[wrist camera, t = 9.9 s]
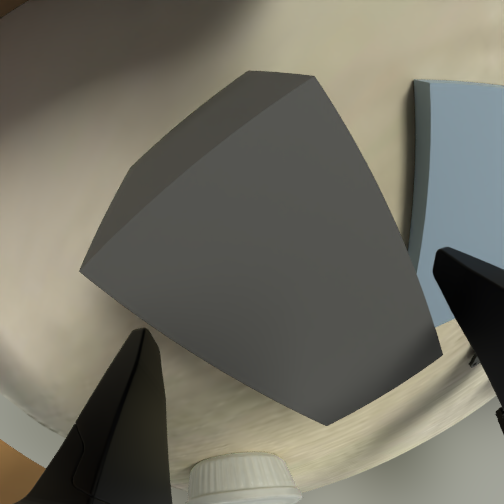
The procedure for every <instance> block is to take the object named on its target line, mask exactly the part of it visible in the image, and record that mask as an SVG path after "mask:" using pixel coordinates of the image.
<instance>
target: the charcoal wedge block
mask: <svg viewBox="0 0 504 504" xmlns="http://www.w3.org/2000/svg"><path fill="white" fill-rule="evenodd" d="M79 272H80V273H82V274H83V275H84V276H85V277H87V278H88V279H89V280H90V281H92V282H93V283H94V284H95V285H97V286H98V287H99V288H101V289H102V290H103V291H104V292H106V293H107V294H108V295H110V296H111V297H112V298H114V299H115V300H116V301H118V302H119V303H120V304H122V305H123V306H124V307H126V308H127V309H128V310H130V311H131V312H133V313H134V314H135V315H137V316H138V317H140V318H141V319H142V320H144V321H145V322H147V323H148V324H149V325H151V326H152V327H154V328H155V329H157V330H158V331H160V332H161V333H163V334H164V335H166V336H167V337H169V338H170V339H172V340H173V341H175V342H176V343H178V344H179V345H181V346H182V347H184V348H185V349H187V350H188V351H190V352H192V353H193V354H195V355H196V356H198V357H200V358H201V359H203V360H204V361H206V362H208V363H209V364H211V365H213V366H214V367H216V368H218V369H219V370H221V371H223V372H224V373H226V374H228V375H229V376H231V377H233V378H235V379H236V380H238V381H240V382H242V383H243V384H245V385H247V386H249V387H250V388H252V389H254V390H256V391H258V392H260V393H261V394H263V395H265V396H267V397H269V398H271V399H273V400H275V401H276V402H278V403H280V404H282V405H284V406H286V407H288V408H290V409H292V410H294V411H296V412H298V413H300V414H302V415H304V416H306V417H308V418H310V419H312V420H315V421H317V422H319V423H321V424H323V425H325V426H328V425H330V424H332V423H334V422H336V421H338V420H340V419H342V418H343V417H345V416H347V415H349V414H351V413H353V412H355V411H356V410H358V409H360V408H362V407H364V406H365V405H367V404H369V403H371V402H372V401H374V400H376V399H378V398H379V397H381V396H383V395H384V394H386V393H387V392H389V391H391V390H392V389H394V388H396V387H397V386H399V385H400V384H402V383H403V382H405V381H406V380H408V379H409V378H411V377H412V376H414V375H415V374H417V373H418V372H420V371H421V370H423V369H424V368H426V367H427V366H428V365H430V364H431V363H433V362H434V361H435V360H437V359H438V358H440V357H441V356H442V355H443V353H442V350H441V346H440V343H439V339H438V336H437V333H436V329H435V326H434V323H433V320H432V317H431V314H430V311H429V308H428V305H427V302H426V299H425V296H424V293H423V290H422V287H421V285H420V282H419V279H418V277H417V274H416V271H415V269H414V266H413V264H412V261H411V258H410V256H409V253H408V251H407V249H406V246H405V244H404V241H403V239H402V237H401V234H400V232H399V230H398V227H397V225H396V223H395V221H394V218H393V216H392V214H391V212H390V210H389V207H388V205H387V203H386V201H385V199H384V197H383V195H382V193H381V191H380V189H379V187H378V185H377V183H376V181H375V179H374V177H373V175H372V173H371V171H370V169H369V167H368V165H367V163H366V161H365V159H364V158H363V156H362V154H361V152H360V150H359V148H358V147H357V145H356V143H355V141H354V139H353V138H352V136H351V134H350V132H349V131H348V129H347V127H346V125H345V124H344V122H343V120H342V119H341V117H340V115H339V114H338V112H337V110H336V109H335V107H334V106H333V104H332V102H331V101H330V99H329V98H328V96H327V94H326V93H325V91H324V90H323V88H322V87H321V85H320V84H319V82H318V81H317V79H316V78H315V76H310V75H301V74H291V73H279V72H265V71H247V72H246V73H244V74H243V75H242V76H240V77H239V78H237V79H236V80H235V81H233V82H232V83H230V84H229V85H228V86H226V87H225V88H224V89H222V90H221V91H220V92H218V93H217V94H216V95H214V96H213V97H212V98H210V99H209V100H208V101H207V102H205V103H204V104H203V105H202V106H200V107H199V108H198V109H197V110H195V111H194V112H193V113H192V114H190V115H189V116H188V117H187V118H185V119H184V120H183V121H182V122H181V123H179V124H178V125H177V126H176V127H175V128H174V129H172V130H171V131H170V132H169V133H168V134H167V135H165V136H164V137H163V138H162V139H161V140H160V141H159V142H158V143H156V144H155V145H154V146H153V147H152V148H151V149H150V150H149V151H148V152H146V153H145V154H144V155H143V156H142V157H141V158H140V159H139V160H138V161H137V162H136V163H135V164H134V165H133V166H132V167H131V168H130V169H129V171H128V173H127V175H126V176H125V178H124V180H123V182H122V184H121V186H120V187H119V189H118V191H117V193H116V195H115V197H114V199H113V200H112V202H111V204H110V206H109V208H108V210H107V212H106V214H105V216H104V218H103V220H102V222H101V224H100V226H99V228H98V230H97V233H96V235H95V237H94V239H93V241H92V243H91V245H90V248H89V250H88V252H87V254H86V256H85V259H84V261H83V263H82V266H81V268H80V270H79Z"/></svg>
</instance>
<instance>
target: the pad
mask: <svg viewBox="0 0 504 504" xmlns="http://www.w3.org/2000/svg"><path fill="white" fill-rule="evenodd" d="M414 93H415V125H416V145H415V177H414V194H413V207H412V218H411V228H410V237H409V245H408V253H409V256H410V258H411V261H412V264H413V266H414V269H415V271H416V274H417V277H418V279H419V282H420V285H421V287H422V290H423V293H424V296H425V299H426V302H427V305H428V308H429V311H430V314H431V317H432V320H433V323H434V326H435V327H437V326H439V325H442V324H444V323H446V322H448V321H450V320H452V319H454V318H455V317H454V315H453V314H452V312H451V310H450V308H449V306H448V304H447V302H446V300H445V298H444V296H443V294H442V292H441V290H440V288H439V286H438V284H437V282H436V280H435V278H434V276H433V271H432V270H433V264H434V260H435V255H436V252H437V250H438V249H440V248H443V247H451V248H453V249H456V250H458V251H461V252H463V253H466V254H468V255H471V256H473V257H476V258H478V259H480V260H483V261H485V262H488V263H490V264H492V265H495V266H497V267H499V268H502V269H504V86H501V85H494V84H485V83H475V82H463V81H448V80H416V79H414Z"/></svg>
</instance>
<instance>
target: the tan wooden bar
mask: <svg viewBox="0 0 504 504" xmlns="http://www.w3.org/2000/svg"><path fill="white" fill-rule="evenodd" d="M45 469H46V468H44V467H42V466H40V465H39V464H37V463H35V462H34V461H32V460H31V459H29V458H27V457H26V456H24V455H23V454H21V453H20V452H18V451H17V450H15V449H14V448H12V447H11V446H9V445H8V444H6V443H5V442H4V441H2V440H1V439H0V504H13V503H16V502H18V501H20V500H21V499H23V498H24V497H25V496H26V495H27V494H28V493H29V492H30V491H31V490H32V488H33V487H34V485H35V484H36V482H37V481H38V480H39V478H40V477H41V475H42V474H43V472H44V471H45Z"/></svg>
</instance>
